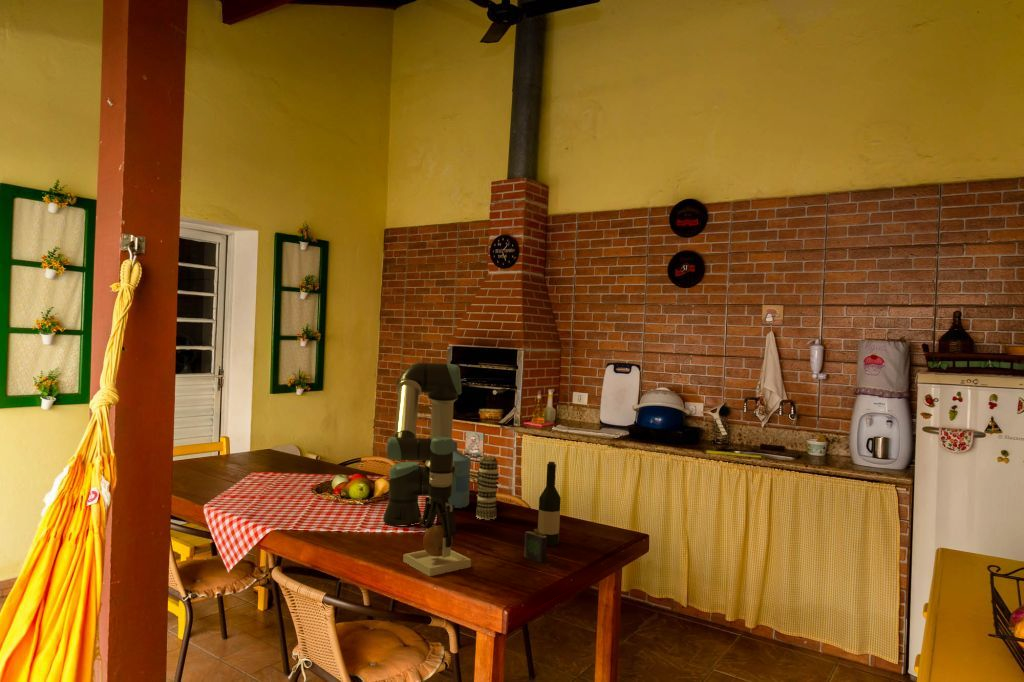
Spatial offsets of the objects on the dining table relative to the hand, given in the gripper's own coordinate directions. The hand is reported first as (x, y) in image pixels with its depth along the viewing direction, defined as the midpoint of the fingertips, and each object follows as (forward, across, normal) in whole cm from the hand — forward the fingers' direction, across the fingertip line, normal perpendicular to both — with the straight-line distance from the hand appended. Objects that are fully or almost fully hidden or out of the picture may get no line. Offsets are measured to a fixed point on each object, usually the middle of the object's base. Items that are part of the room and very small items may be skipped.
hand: (437, 552), depth 226 cm
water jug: (+4, -61, +48) cm, 78 cm away
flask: (+4, +14, +31) cm, 34 cm away
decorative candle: (+4, -37, +49) cm, 61 cm away
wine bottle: (+4, +2, +48) cm, 48 cm away
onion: (+1, 0, 0) cm, 1 cm away
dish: (+4, 0, 0) cm, 4 cm away
